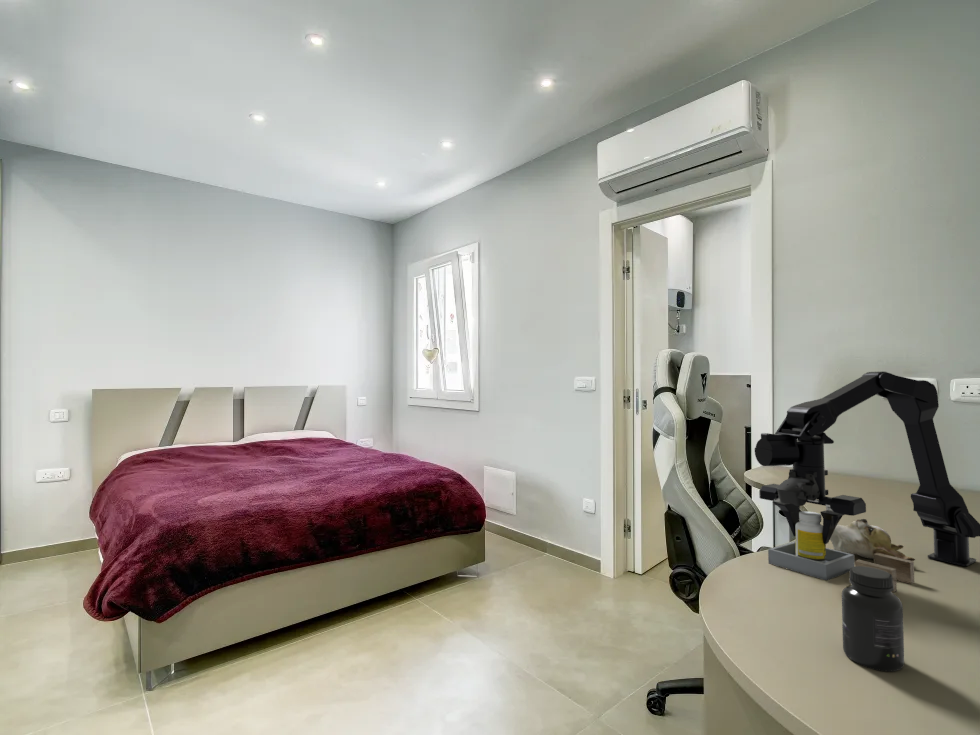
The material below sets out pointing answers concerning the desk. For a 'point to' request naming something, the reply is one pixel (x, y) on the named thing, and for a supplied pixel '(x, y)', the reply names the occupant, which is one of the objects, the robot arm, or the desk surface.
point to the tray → (811, 562)
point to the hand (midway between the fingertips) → (810, 539)
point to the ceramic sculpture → (865, 540)
